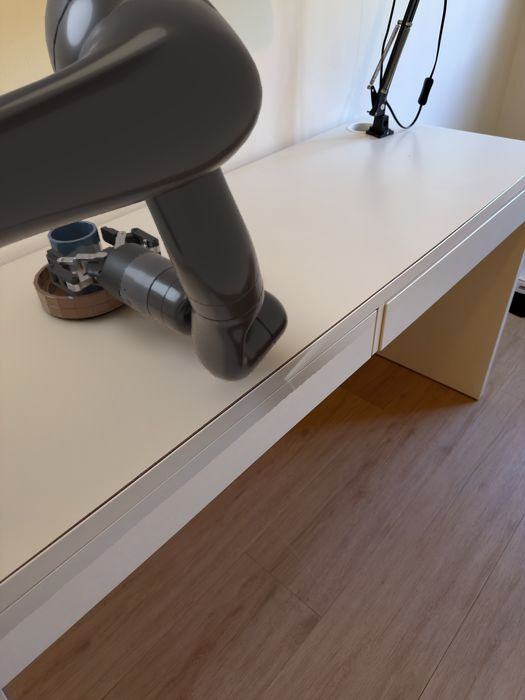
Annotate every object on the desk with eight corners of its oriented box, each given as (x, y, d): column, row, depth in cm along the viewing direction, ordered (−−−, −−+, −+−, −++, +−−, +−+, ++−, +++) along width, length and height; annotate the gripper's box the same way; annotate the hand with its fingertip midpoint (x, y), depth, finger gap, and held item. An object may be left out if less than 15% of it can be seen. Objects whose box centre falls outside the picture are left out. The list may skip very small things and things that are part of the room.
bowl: (53, 333, 73) (45, 310, 71) (33, 287, 83) (25, 265, 80) (150, 302, 78) (145, 278, 76) (120, 262, 88) (115, 240, 86)
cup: (73, 308, 77) (53, 247, 70) (62, 287, 81) (43, 228, 75) (117, 294, 79) (102, 233, 73) (105, 275, 84) (89, 216, 77)
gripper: (187, 233, 67) (113, 202, 76) (91, 279, 59) (21, 238, 68) (194, 284, 72) (124, 248, 81) (106, 333, 64) (39, 287, 73)
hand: (77, 244), depth 74 cm, fingers open, 8 cm apart
